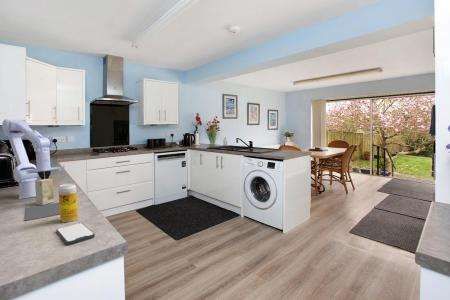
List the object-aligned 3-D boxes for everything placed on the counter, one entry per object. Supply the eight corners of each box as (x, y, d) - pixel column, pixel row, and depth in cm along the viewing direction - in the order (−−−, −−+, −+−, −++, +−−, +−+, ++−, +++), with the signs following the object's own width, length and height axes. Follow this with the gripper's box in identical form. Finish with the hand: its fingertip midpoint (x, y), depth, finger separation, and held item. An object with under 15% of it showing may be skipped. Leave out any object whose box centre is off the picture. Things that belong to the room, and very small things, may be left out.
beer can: (59, 223, 94) (57, 187, 92) (61, 218, 99) (59, 184, 97) (77, 221, 96) (75, 185, 95) (78, 216, 102) (76, 182, 100)
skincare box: (42, 205, 115) (41, 181, 114) (35, 205, 116) (33, 180, 115) (54, 201, 121) (53, 178, 121) (47, 201, 122) (46, 178, 121)
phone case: (55, 233, 87) (66, 247, 76) (55, 229, 87) (66, 242, 76) (82, 226, 93) (96, 238, 82) (82, 222, 93) (96, 233, 82)
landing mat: (26, 208, 112) (26, 207, 111) (63, 202, 121) (63, 201, 121) (24, 221, 96) (24, 220, 96) (68, 213, 106) (68, 212, 106)
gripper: (25, 162, 115) (27, 189, 116) (60, 160, 124) (62, 184, 125) (25, 160, 120) (27, 186, 122) (59, 158, 130) (61, 182, 131)
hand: (45, 185), depth 124 cm, fingers closed
